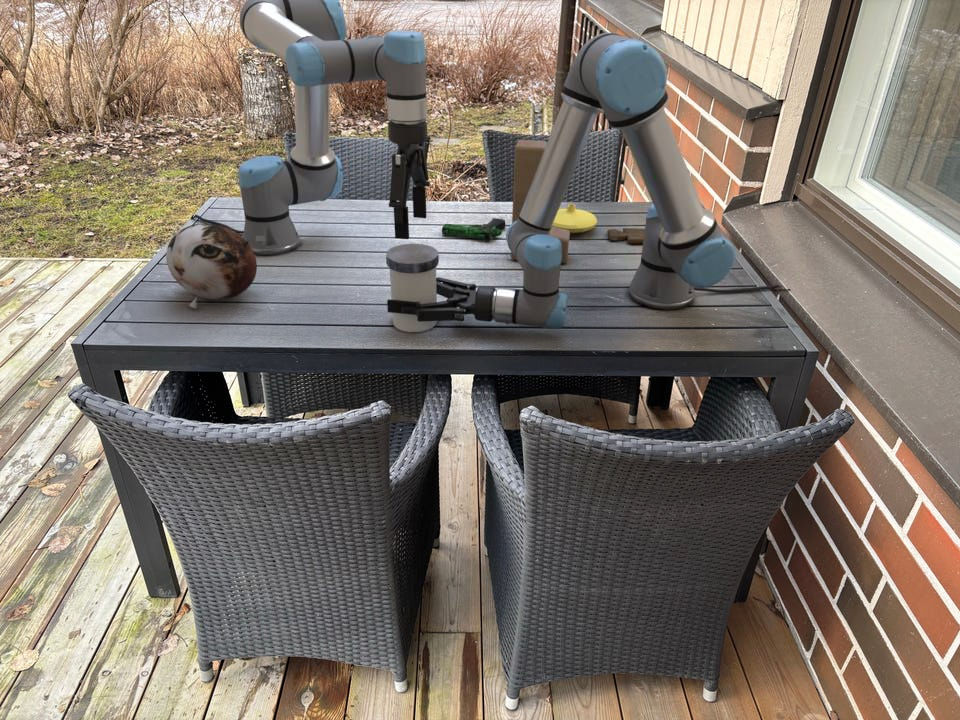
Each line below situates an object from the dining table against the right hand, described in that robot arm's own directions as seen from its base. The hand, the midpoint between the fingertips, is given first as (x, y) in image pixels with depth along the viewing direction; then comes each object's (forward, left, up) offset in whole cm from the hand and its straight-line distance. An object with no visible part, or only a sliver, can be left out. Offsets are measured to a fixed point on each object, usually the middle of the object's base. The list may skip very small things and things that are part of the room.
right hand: (395, 295), depth 157 cm
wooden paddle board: (-79, -34, -6) cm, 86 cm away
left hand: (-4, +2, +16) cm, 16 cm away
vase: (-58, -46, -6) cm, 74 cm away
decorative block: (-43, -27, -6) cm, 51 cm away
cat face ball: (+39, -21, -6) cm, 45 cm away
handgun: (-31, -49, -6) cm, 58 cm away
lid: (-4, +2, +10) cm, 11 cm away
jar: (-4, +2, -6) cm, 7 cm away
